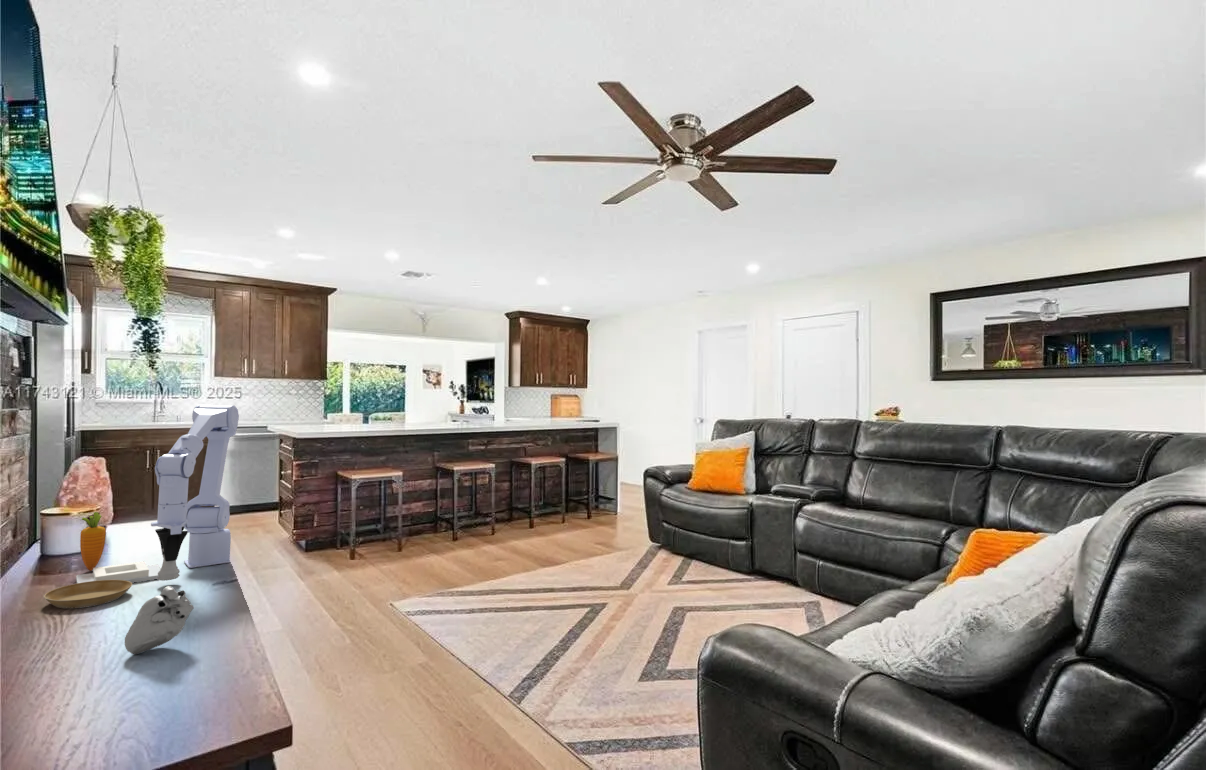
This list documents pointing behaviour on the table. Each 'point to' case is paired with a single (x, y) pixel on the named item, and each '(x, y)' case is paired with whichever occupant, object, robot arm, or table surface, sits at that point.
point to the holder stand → (122, 573)
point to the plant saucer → (87, 593)
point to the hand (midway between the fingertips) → (169, 559)
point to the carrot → (92, 542)
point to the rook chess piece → (168, 570)
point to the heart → (158, 621)
